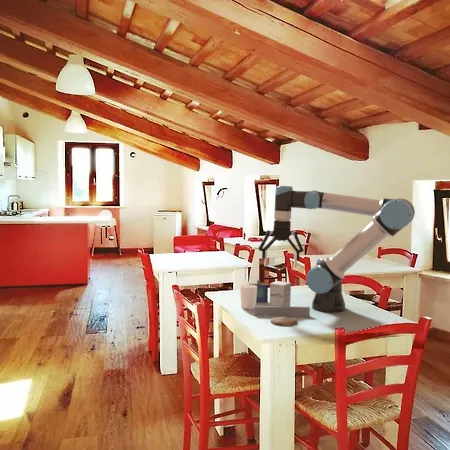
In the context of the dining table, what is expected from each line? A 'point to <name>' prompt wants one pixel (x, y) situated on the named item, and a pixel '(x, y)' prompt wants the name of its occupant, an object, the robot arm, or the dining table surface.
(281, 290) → the supplement box
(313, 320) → the dining table surface
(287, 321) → the coaster
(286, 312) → the low wall
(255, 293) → the white cup
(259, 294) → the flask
